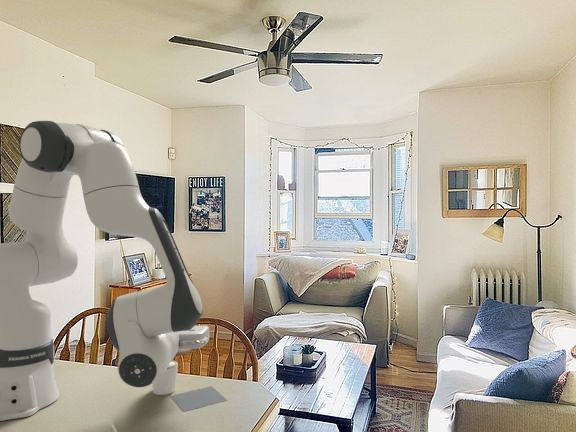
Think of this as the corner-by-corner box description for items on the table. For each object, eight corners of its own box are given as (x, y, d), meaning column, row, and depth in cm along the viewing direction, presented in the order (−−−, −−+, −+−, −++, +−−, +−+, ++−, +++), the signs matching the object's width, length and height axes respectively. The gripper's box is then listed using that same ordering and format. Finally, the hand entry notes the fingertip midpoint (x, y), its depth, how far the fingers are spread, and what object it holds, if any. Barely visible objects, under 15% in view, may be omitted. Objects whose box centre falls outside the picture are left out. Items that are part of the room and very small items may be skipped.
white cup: (170, 398, 107) (170, 370, 106) (145, 396, 108) (144, 368, 108) (182, 387, 113) (182, 360, 113) (158, 385, 115) (158, 358, 115)
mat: (183, 413, 98) (183, 411, 98) (169, 397, 107) (169, 396, 107) (227, 401, 104) (227, 400, 104) (211, 387, 113) (211, 386, 113)
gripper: (205, 330, 97) (213, 314, 110) (113, 330, 96) (132, 315, 110) (205, 357, 97) (213, 339, 111) (113, 358, 96) (132, 339, 110)
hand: (172, 327), depth 110 cm, fingers closed on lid, 3 cm apart
